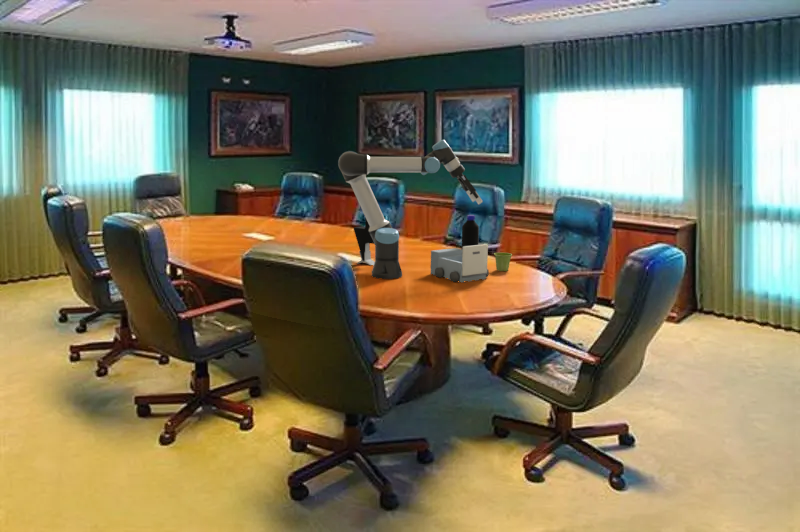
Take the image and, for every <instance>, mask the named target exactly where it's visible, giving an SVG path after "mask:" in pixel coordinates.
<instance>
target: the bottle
mask: <svg viewBox="0 0 800 532" xmlns="http://www.w3.org/2000/svg"><path fill="white" fill-rule="evenodd" d="M475 220H476V214H475V215H474V214H467V215H466V221H465V222H464V224H463V225H462V227H461V249H462V250H463V247H464V246H473V245H479V241H480V238H479V237H480V233H479V232H480V230H479V229H480V227H479V225H478V223H477V222H476V221H475Z"/></svg>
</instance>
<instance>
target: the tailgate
mask: <svg viewBox="0 0 800 532" xmlns="http://www.w3.org/2000/svg"><path fill="white" fill-rule="evenodd" d="M488 252H489V245H488V244H487V243H484V244H478V245H473V246H464V247H463V254H462V278H464V277H471V276H479V275H486V274H487V269H488V257H489V256H488V254H489V253H488Z"/></svg>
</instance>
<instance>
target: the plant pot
mask: <svg viewBox="0 0 800 532" xmlns="http://www.w3.org/2000/svg"><path fill="white" fill-rule="evenodd" d="M493 255H494V258H495V267H496V268H495V269H496V271H498V270H499V271H498V272H508V271H509V268H510V263H511V258H512V256H513V254H512V253H509V252H494V253H493Z"/></svg>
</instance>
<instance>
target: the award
mask: <svg viewBox="0 0 800 532" xmlns="http://www.w3.org/2000/svg"><path fill="white" fill-rule="evenodd" d="M364 217H365V216H364ZM369 228H370V226H369V224H368V221H367V219H366V217H365V219H364V226H356V227H355V226H354V227H353V232H354V235H355V239H356V242H357V245H358V247H359V248H358V249H359V252H358V253H359V255H360V259H361V260H360V261H358V262H357V264H358V265H359V264H361V263H365V264H366V265H369V266H371V265H373V266H374V263H375V260H373V259H372V257H371V256H372V253H371V249H370V246H371V245H370V244H372V245H373V244H374V242H373V239H372V237H371V235H370V233H369ZM374 245H375V244H374Z"/></svg>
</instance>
